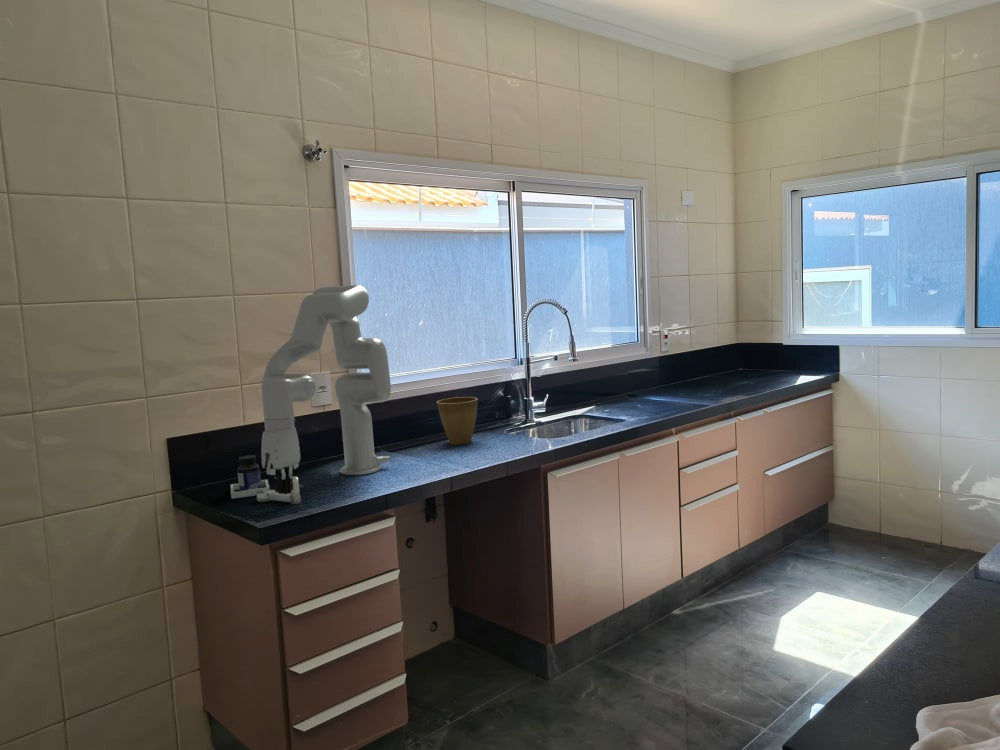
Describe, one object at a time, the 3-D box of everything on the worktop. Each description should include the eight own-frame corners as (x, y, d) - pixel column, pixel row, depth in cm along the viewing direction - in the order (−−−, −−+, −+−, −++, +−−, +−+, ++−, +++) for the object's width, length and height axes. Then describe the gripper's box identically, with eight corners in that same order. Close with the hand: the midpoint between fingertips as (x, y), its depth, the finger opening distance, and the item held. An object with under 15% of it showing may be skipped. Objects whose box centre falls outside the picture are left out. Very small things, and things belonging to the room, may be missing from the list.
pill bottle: (264, 490, 221) (260, 453, 219) (258, 496, 215) (255, 458, 213) (243, 492, 220) (239, 455, 219) (237, 497, 214) (233, 460, 213)
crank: (253, 500, 207) (250, 476, 206) (267, 495, 211) (264, 471, 210) (292, 506, 199) (289, 480, 199) (305, 500, 204) (303, 475, 203)
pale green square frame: (268, 489, 224) (267, 479, 223) (270, 497, 214) (269, 487, 214) (231, 494, 220) (230, 484, 220) (231, 503, 211) (230, 493, 210)
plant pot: (483, 438, 280) (480, 395, 278) (476, 446, 266) (473, 402, 264) (444, 439, 283) (441, 397, 281) (435, 447, 268) (432, 403, 266)
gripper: (288, 419, 205) (293, 485, 207) (247, 428, 192) (253, 499, 194) (310, 420, 202) (314, 487, 203) (269, 429, 188) (275, 501, 190)
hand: (284, 492), depth 198 cm, fingers closed
